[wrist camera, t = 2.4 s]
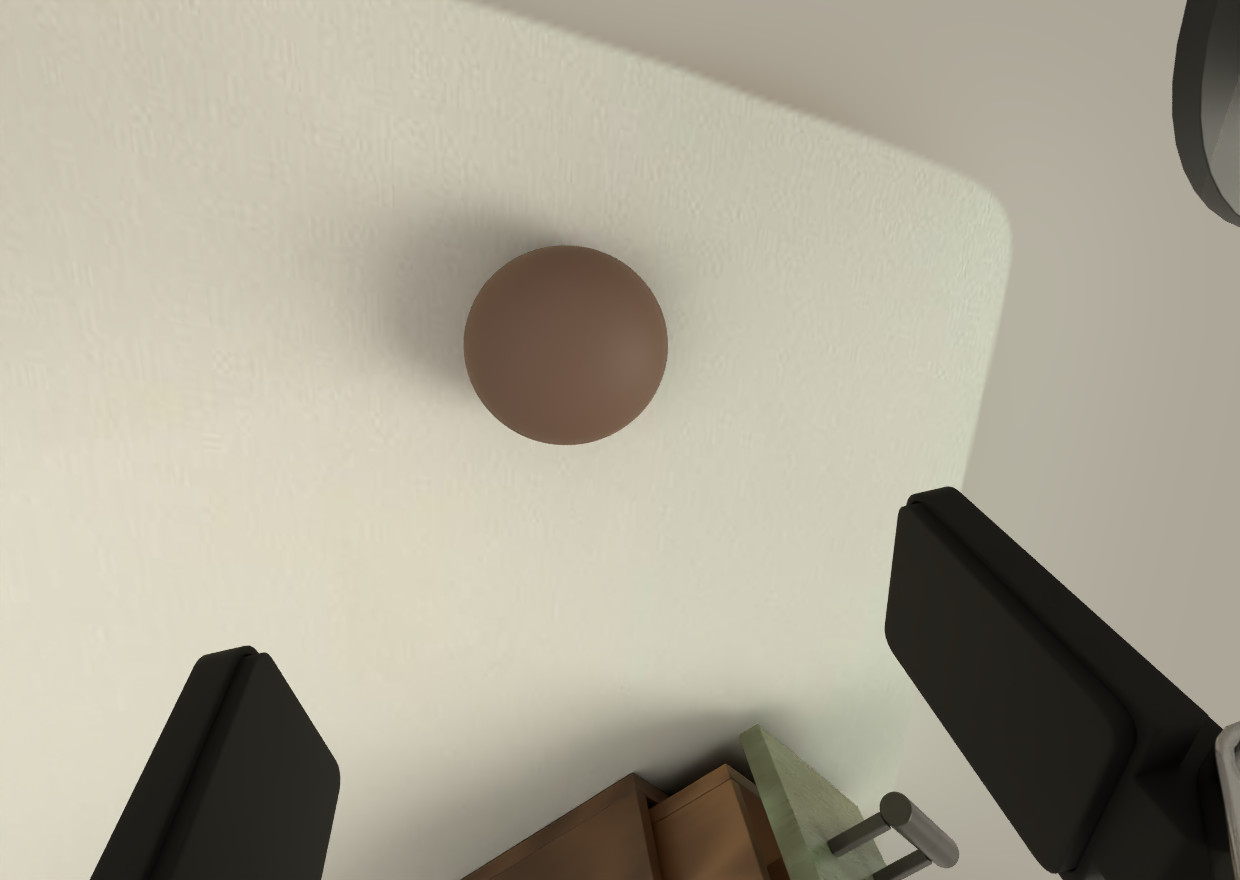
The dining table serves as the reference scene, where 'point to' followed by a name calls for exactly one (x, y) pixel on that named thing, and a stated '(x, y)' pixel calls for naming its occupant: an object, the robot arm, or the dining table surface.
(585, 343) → the egg
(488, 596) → the dining table surface
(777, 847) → the drawer
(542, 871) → the cabinet
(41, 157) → the dining table surface
